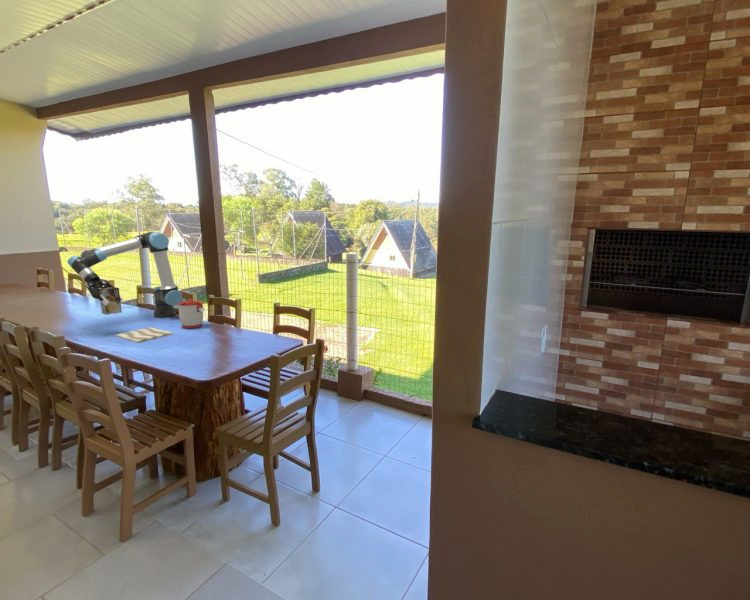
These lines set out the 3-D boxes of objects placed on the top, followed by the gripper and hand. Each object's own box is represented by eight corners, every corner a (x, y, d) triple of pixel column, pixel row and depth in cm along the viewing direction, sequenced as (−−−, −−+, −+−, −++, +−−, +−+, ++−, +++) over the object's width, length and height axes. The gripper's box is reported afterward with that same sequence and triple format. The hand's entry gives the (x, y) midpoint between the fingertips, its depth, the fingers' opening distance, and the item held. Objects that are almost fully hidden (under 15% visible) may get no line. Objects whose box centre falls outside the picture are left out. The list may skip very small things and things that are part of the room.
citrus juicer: (196, 330, 253) (195, 301, 249) (174, 328, 256) (172, 299, 253) (211, 325, 268) (209, 297, 264) (189, 323, 271) (187, 296, 268)
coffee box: (117, 311, 245) (114, 286, 242) (122, 312, 241) (119, 287, 238) (101, 313, 237) (98, 288, 234) (105, 315, 234) (102, 289, 231)
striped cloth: (150, 329, 254) (150, 327, 254) (172, 334, 243) (172, 332, 243) (115, 336, 235) (115, 334, 235) (137, 342, 224) (137, 340, 224)
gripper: (102, 278, 249) (125, 302, 249) (69, 283, 227) (95, 310, 227) (108, 270, 247) (132, 295, 248) (76, 274, 225) (102, 301, 225)
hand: (114, 302), depth 237 cm, fingers closed on coffee box, 10 cm apart
